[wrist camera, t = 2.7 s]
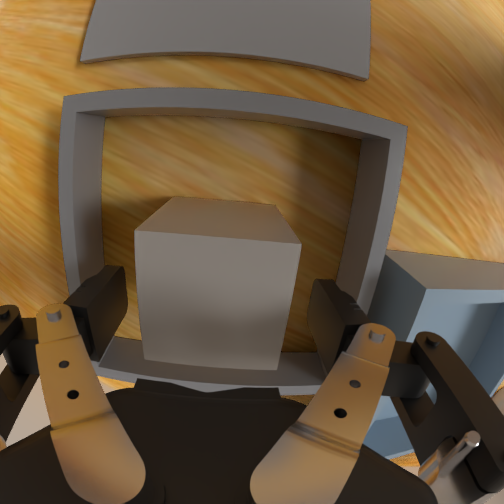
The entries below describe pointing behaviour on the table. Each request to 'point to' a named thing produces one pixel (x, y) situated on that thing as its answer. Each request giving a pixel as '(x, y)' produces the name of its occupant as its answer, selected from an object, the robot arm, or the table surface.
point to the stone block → (215, 283)
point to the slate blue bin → (438, 324)
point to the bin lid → (236, 31)
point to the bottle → (499, 400)
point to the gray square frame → (237, 107)
